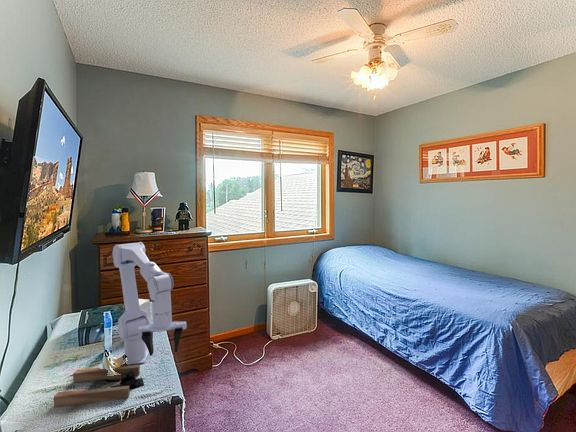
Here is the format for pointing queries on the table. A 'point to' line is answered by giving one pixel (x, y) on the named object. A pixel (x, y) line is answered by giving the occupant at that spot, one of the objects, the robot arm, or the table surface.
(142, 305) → the skincare box
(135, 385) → the black piece
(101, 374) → the walled channel
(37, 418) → the table surface
